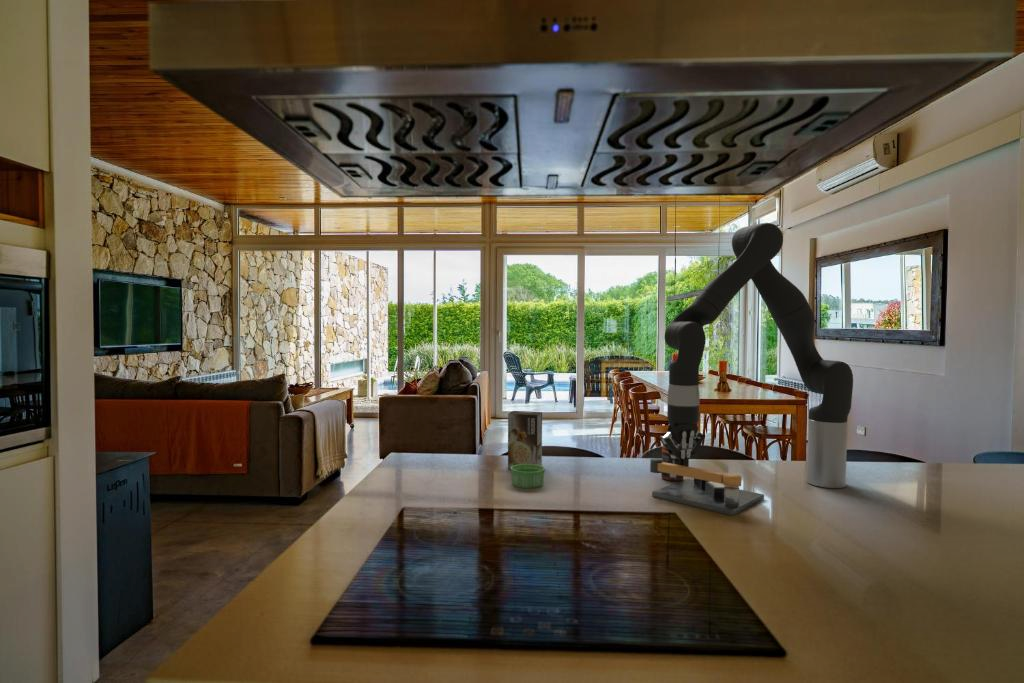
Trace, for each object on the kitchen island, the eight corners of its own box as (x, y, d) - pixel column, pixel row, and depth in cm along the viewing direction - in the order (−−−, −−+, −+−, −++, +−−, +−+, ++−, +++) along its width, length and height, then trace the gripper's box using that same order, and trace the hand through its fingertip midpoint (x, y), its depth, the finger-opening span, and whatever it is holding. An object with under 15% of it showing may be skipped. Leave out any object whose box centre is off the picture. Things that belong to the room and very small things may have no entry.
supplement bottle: (678, 483, 156) (679, 440, 155) (657, 479, 159) (658, 437, 159) (687, 478, 160) (688, 437, 160) (666, 475, 164) (667, 434, 164)
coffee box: (542, 466, 172) (543, 411, 172) (537, 471, 166) (538, 415, 165) (512, 463, 175) (513, 410, 174) (506, 468, 169) (507, 413, 168)
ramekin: (545, 480, 156) (545, 464, 156) (544, 489, 147) (544, 472, 147) (512, 479, 157) (512, 463, 157) (508, 488, 148) (509, 471, 148)
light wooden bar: (743, 486, 133) (744, 473, 133) (737, 490, 130) (737, 476, 130) (654, 469, 148) (655, 457, 148) (646, 472, 145) (647, 460, 145)
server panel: (689, 482, 156) (689, 463, 156) (765, 498, 142) (765, 477, 142) (652, 496, 143) (652, 475, 143) (732, 515, 129) (732, 492, 129)
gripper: (672, 406, 137) (671, 479, 138) (714, 403, 143) (713, 473, 144) (651, 402, 144) (650, 471, 145) (693, 399, 150) (692, 466, 151)
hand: (682, 472), depth 144 cm, fingers closed
